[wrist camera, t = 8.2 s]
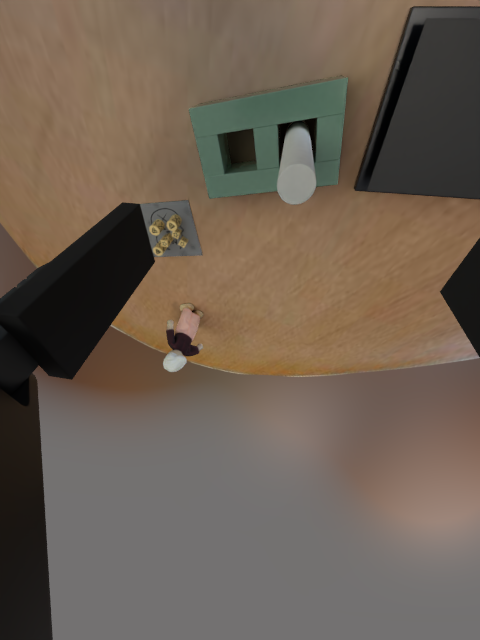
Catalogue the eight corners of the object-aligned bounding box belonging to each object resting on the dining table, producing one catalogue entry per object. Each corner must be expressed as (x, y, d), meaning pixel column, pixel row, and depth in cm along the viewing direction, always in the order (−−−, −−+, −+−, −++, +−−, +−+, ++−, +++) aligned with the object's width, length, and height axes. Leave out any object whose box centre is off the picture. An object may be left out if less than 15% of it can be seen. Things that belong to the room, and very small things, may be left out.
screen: (366, 190, 27) (366, 190, 27) (426, 18, 18) (427, 18, 18) (494, 199, 25) (494, 199, 25) (620, 19, 17) (621, 19, 17)
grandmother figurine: (171, 307, 48) (143, 363, 39) (180, 296, 45) (152, 353, 36) (206, 328, 50) (186, 385, 41) (216, 318, 48) (198, 377, 39)
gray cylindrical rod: (284, 122, 26) (275, 165, 15) (309, 118, 25) (317, 160, 15) (285, 150, 27) (277, 206, 17) (309, 147, 27) (315, 203, 16)
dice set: (159, 249, 39) (154, 256, 38) (146, 216, 35) (141, 222, 34) (191, 248, 38) (187, 255, 37) (181, 213, 34) (176, 220, 33)
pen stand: (200, 103, 26) (188, 108, 23) (342, 74, 23) (348, 77, 20) (217, 186, 31) (209, 198, 28) (333, 172, 28) (337, 184, 25)
